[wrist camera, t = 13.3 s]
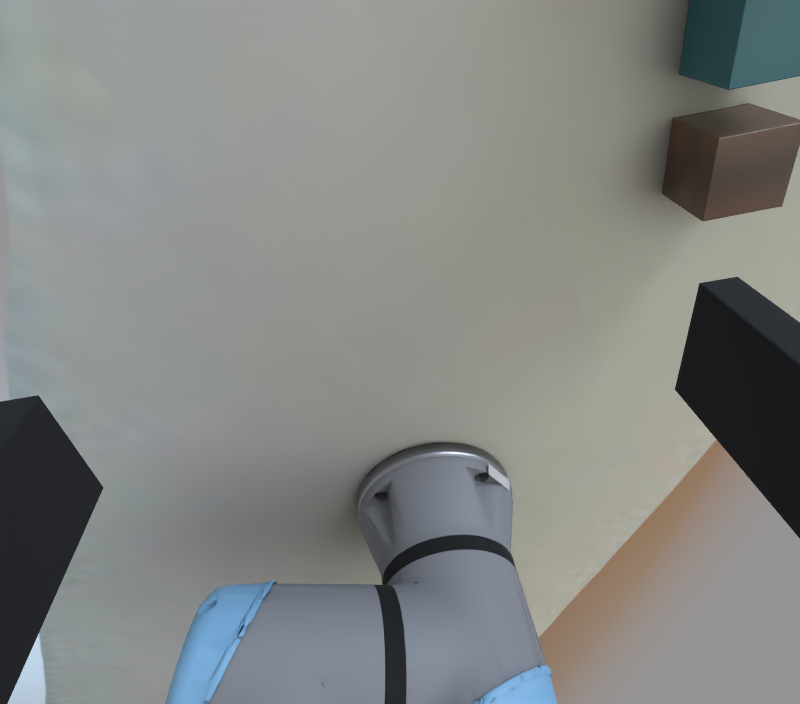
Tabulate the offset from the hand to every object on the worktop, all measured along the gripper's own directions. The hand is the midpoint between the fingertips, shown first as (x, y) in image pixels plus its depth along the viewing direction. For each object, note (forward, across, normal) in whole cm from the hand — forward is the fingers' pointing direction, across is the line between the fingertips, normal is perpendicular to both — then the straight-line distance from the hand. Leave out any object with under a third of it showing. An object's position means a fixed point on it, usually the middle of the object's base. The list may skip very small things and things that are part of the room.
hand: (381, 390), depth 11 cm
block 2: (+26, -23, +5) cm, 35 cm away
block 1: (+26, -23, -2) cm, 34 cm away
